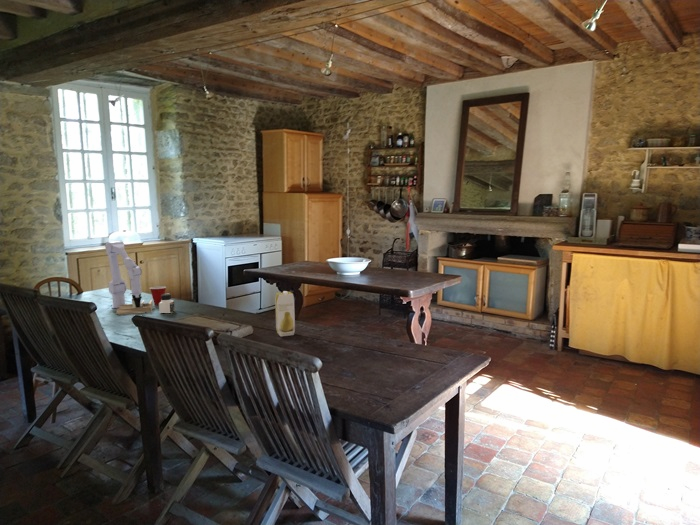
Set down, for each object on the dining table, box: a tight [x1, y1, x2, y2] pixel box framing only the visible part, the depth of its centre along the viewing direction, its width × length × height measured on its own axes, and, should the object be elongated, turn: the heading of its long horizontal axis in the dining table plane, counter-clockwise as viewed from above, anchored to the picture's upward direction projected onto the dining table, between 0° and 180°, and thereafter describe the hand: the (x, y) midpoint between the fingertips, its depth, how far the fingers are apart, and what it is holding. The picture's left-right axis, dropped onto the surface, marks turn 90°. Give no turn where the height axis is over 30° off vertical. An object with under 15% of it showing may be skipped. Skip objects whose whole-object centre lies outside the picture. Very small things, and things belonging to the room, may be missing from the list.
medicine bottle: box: [158, 293, 175, 314], centre depth 310 cm, size 7×7×12 cm
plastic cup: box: [149, 285, 167, 306], centre depth 333 cm, size 11×11×12 cm
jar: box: [131, 298, 142, 308], centre depth 314 cm, size 5×5×7 cm
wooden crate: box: [115, 299, 154, 316], centre depth 314 cm, size 12×20×6 cm, turn 106°
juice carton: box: [274, 290, 296, 337], centre depth 262 cm, size 9×8×24 cm
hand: (137, 306), depth 315 cm, fingers closed on jar, 5 cm apart
